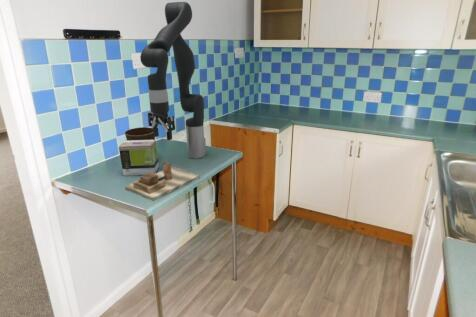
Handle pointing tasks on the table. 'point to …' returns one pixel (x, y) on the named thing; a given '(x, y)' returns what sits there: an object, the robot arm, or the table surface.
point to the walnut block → (153, 179)
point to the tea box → (139, 157)
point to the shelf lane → (163, 184)
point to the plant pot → (140, 134)
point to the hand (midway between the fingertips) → (162, 138)
